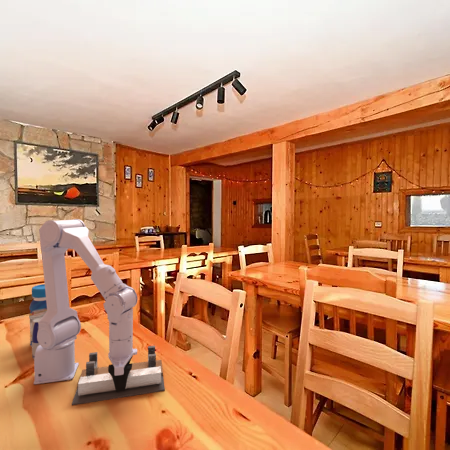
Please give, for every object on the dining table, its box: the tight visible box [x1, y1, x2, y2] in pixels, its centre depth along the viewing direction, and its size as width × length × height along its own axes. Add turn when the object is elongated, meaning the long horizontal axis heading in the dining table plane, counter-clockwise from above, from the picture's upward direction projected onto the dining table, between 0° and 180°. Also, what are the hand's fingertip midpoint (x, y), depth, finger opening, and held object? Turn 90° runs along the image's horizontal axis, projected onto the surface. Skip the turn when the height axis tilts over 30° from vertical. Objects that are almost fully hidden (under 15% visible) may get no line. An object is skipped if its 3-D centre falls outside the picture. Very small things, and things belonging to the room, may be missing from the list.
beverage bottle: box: [28, 283, 47, 348], centre depth 97 cm, size 8×8×20 cm
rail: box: [77, 366, 161, 396], centre depth 74 cm, size 20×3×3 cm, turn 106°
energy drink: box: [31, 316, 43, 360], centre depth 90 cm, size 5×5×12 cm
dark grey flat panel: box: [71, 375, 166, 406], centre depth 74 cm, size 22×6×1 cm, turn 106°
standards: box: [76, 345, 164, 389], centre depth 81 cm, size 22×7×6 cm, turn 106°
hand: (121, 386), depth 74 cm, fingers closed on rail, 3 cm apart
